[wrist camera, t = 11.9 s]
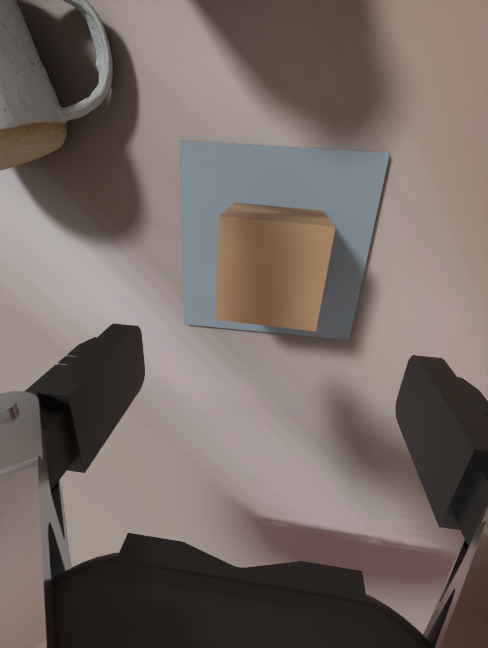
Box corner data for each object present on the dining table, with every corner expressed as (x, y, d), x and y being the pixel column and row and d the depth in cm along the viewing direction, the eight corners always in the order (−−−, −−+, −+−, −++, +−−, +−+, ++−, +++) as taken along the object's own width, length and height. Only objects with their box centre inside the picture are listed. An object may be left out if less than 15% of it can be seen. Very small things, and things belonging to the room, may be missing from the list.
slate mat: (387, 152, 20) (389, 152, 19) (348, 337, 25) (349, 340, 25) (181, 140, 21) (180, 140, 20) (186, 321, 26) (184, 324, 25)
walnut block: (323, 210, 21) (335, 227, 16) (309, 294, 23) (315, 331, 19) (234, 202, 21) (219, 216, 16) (229, 286, 24) (215, 319, 19)
